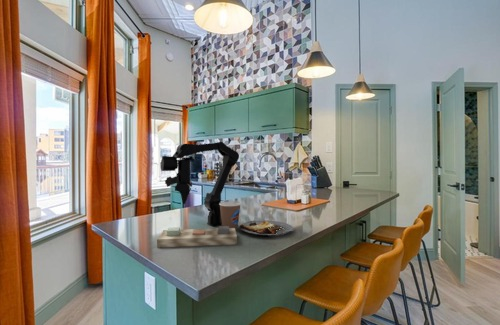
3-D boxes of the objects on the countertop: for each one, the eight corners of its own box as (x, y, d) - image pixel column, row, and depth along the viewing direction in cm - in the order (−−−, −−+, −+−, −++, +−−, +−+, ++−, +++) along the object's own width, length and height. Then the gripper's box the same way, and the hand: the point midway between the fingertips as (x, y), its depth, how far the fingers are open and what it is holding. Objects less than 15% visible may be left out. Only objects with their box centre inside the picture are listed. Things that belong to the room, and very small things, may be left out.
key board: (234, 234, 110) (234, 228, 110) (236, 244, 98) (236, 236, 98) (163, 237, 106) (163, 230, 106) (156, 247, 94) (156, 239, 94)
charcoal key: (228, 234, 106) (228, 226, 106) (229, 237, 101) (229, 228, 101) (218, 234, 105) (218, 226, 105) (218, 237, 101) (218, 229, 101)
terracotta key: (204, 238, 105) (204, 229, 104) (204, 241, 100) (204, 232, 100) (193, 238, 104) (193, 230, 104) (192, 241, 100) (192, 233, 100)
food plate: (264, 242, 100) (264, 233, 100) (229, 230, 117) (229, 222, 117) (302, 232, 117) (302, 224, 117) (266, 223, 134) (266, 216, 134)
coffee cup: (234, 232, 113) (234, 206, 113) (214, 229, 117) (215, 204, 117) (244, 227, 122) (244, 202, 122) (226, 224, 127) (226, 200, 126)
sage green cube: (179, 235, 103) (179, 227, 103) (178, 239, 99) (178, 230, 99) (168, 236, 103) (168, 227, 103) (166, 239, 98) (166, 230, 98)
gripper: (169, 169, 126) (169, 200, 126) (162, 171, 108) (162, 208, 108) (192, 169, 128) (192, 200, 128) (189, 171, 109) (189, 207, 110)
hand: (184, 203), depth 118 cm, fingers closed
